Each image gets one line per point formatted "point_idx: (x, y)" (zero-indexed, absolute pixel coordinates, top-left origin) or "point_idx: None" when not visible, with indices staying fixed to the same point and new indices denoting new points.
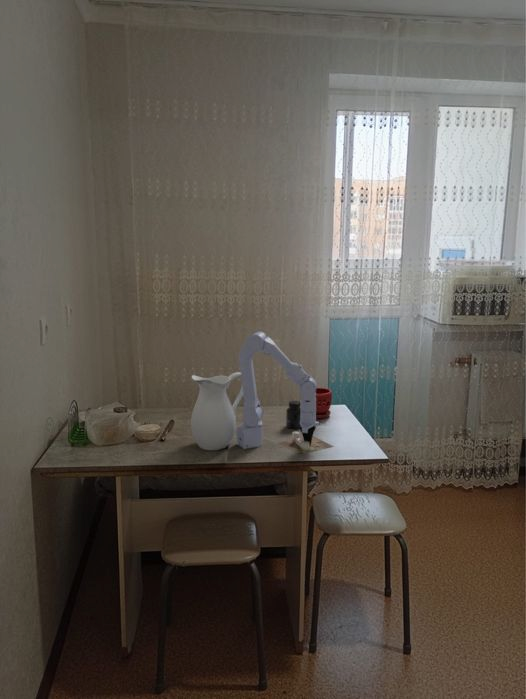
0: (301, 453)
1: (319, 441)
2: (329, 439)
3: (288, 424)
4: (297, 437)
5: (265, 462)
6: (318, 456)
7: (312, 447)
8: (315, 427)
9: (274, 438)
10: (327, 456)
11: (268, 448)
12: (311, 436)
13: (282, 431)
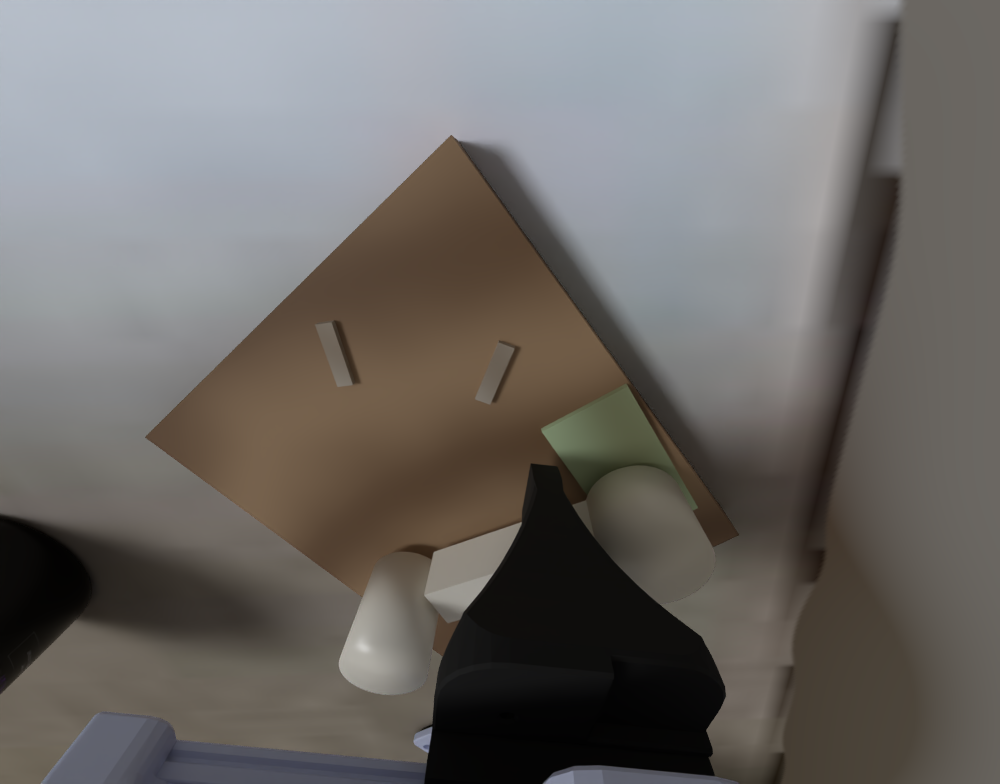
0: (715, 518)
1: (305, 355)
2: (84, 216)
3: (32, 662)
4: (429, 613)
5: (791, 683)
6: (707, 344)
7: (549, 430)
8: (574, 672)
9: (309, 662)
10: (716, 236)
11: None
12: (608, 559)
13: (128, 629)
